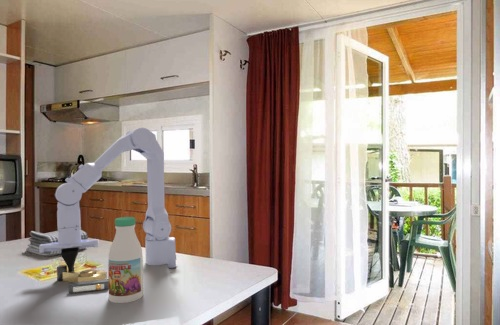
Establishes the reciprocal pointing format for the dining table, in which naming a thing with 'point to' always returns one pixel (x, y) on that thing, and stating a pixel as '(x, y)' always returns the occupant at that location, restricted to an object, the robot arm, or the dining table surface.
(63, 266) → the tan piece
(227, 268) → the dining table surface
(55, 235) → the towel
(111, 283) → the milk bottle
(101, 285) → the stand base
